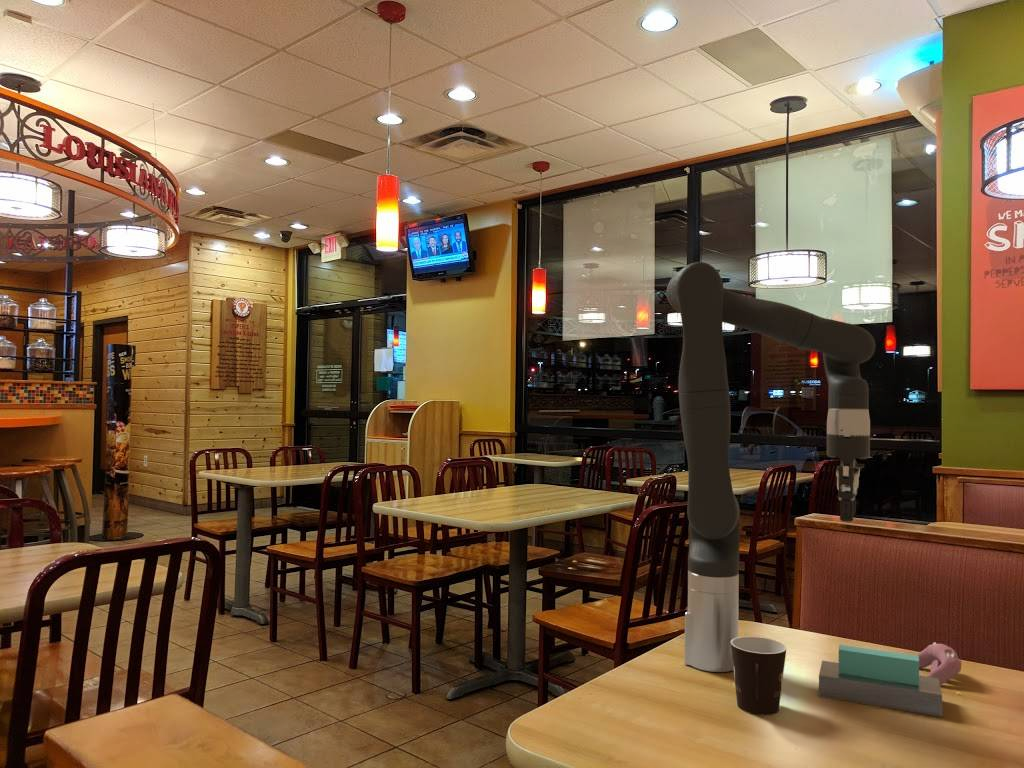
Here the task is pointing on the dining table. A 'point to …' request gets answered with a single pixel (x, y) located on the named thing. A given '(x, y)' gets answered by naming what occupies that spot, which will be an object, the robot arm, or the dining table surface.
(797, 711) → the dining table surface
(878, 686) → the slotted rail
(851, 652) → the two prong clip
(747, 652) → the coffee mug
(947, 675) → the video game controller
